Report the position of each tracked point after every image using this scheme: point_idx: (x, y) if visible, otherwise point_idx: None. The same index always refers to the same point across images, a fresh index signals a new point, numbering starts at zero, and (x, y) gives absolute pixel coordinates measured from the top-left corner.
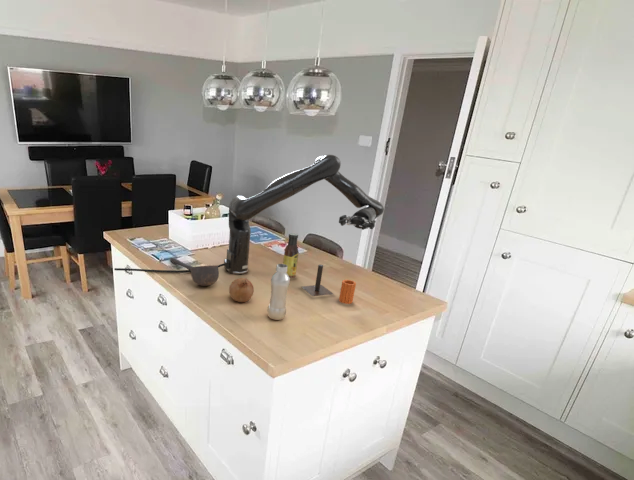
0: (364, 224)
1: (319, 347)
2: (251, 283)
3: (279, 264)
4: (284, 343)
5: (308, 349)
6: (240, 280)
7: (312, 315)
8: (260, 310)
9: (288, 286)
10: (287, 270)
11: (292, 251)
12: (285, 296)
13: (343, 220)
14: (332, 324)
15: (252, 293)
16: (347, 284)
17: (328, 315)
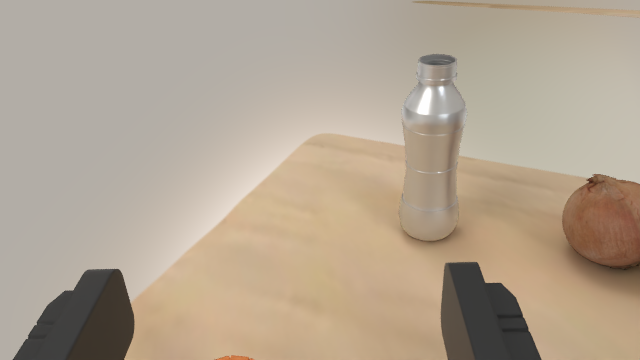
0: (85, 272)
1: (259, 190)
2: (597, 209)
3: (453, 64)
4: (338, 171)
5: (280, 177)
6: (624, 183)
7: (338, 294)
8: (497, 241)
9: (403, 129)
10: None
11: None
12: (406, 160)
13: (454, 267)
14: (255, 280)
15: (566, 225)
16: (232, 355)
17: (286, 322)
